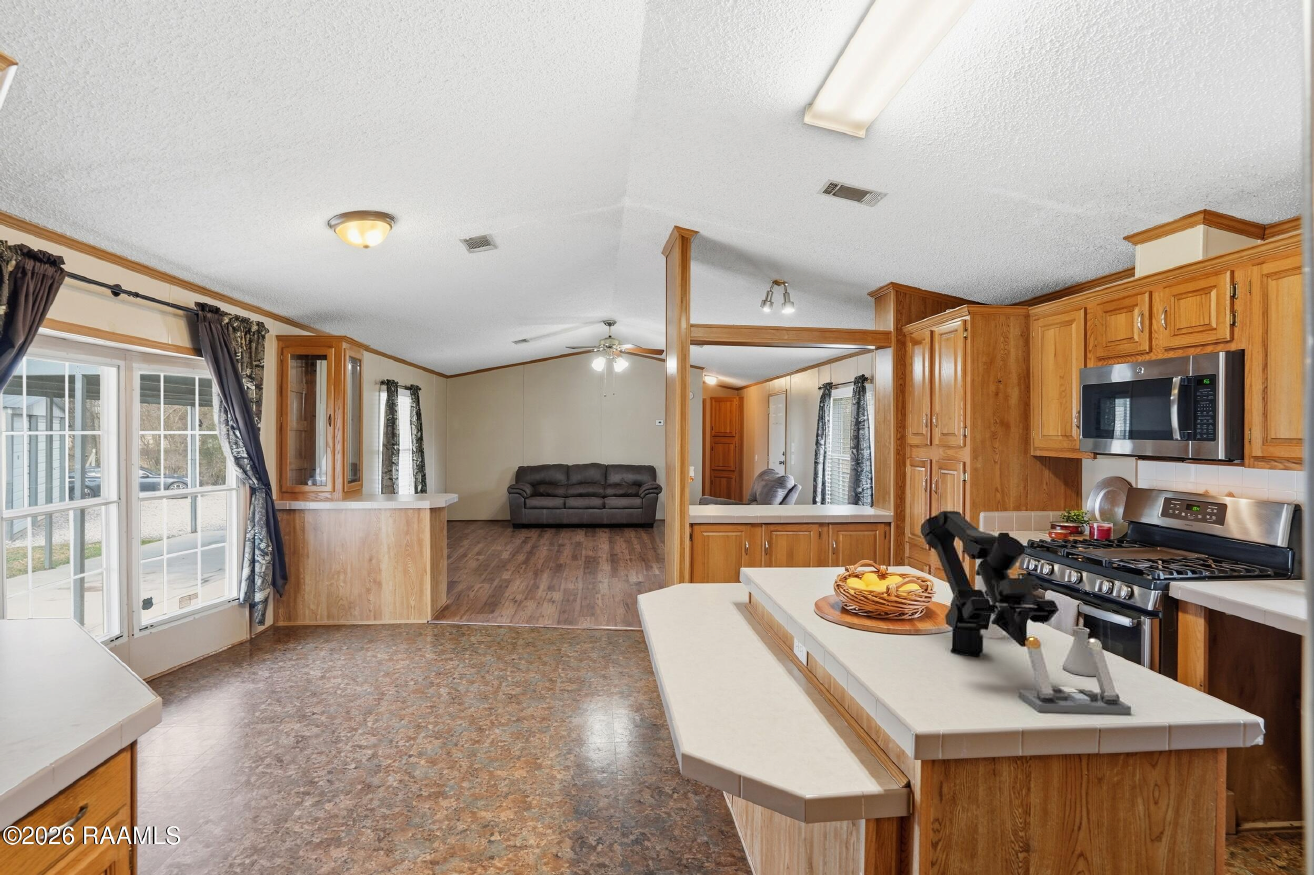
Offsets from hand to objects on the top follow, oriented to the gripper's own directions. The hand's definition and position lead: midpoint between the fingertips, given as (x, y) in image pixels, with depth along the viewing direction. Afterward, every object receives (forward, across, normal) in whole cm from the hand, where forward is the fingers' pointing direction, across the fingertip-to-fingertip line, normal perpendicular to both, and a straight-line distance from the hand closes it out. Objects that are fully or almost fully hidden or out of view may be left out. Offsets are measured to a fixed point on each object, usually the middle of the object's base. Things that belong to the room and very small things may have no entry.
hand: (1024, 645), depth 135 cm
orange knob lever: (+11, 0, 0) cm, 11 cm away
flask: (-2, +21, +16) cm, 27 cm away
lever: (+11, +12, -1) cm, 17 cm away
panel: (+12, +6, +2) cm, 13 cm away
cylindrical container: (-22, +14, +36) cm, 44 cm away
